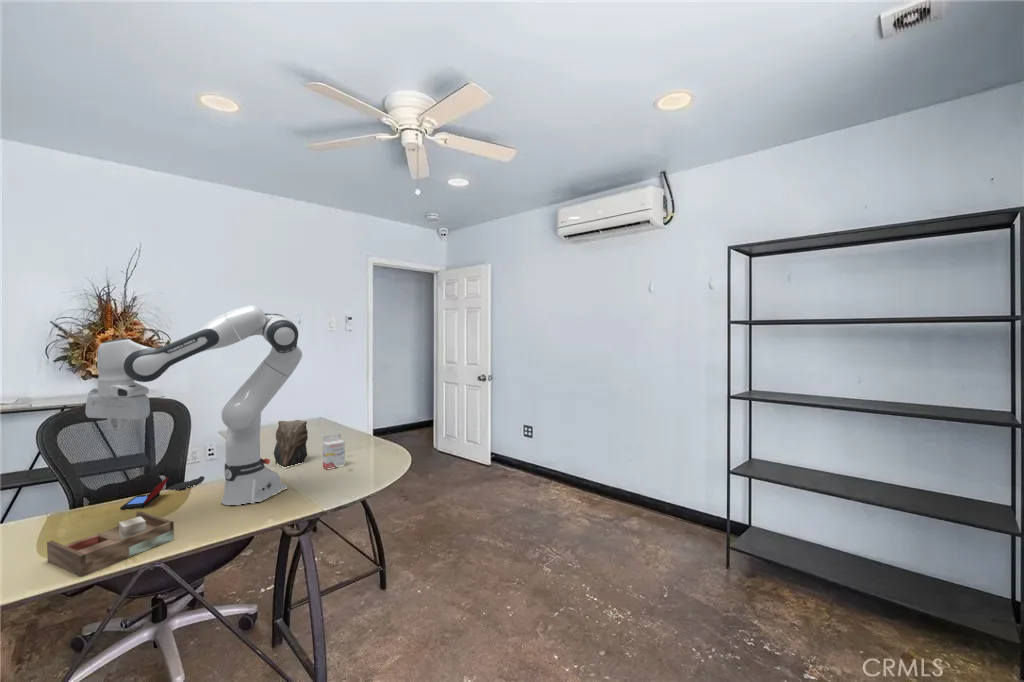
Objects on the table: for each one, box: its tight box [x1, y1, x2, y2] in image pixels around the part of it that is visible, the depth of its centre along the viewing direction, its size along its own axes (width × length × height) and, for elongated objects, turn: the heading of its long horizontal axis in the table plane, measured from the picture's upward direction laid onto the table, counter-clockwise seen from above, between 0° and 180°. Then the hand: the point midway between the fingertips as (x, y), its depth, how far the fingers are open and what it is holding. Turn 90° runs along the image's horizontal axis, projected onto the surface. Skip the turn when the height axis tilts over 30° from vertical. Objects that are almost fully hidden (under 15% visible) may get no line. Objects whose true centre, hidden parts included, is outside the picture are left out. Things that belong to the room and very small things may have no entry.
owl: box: [273, 419, 309, 467], centre depth 210 cm, size 13×13×20 cm
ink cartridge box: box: [322, 433, 346, 470], centre depth 205 cm, size 9×5×15 cm, turn 133°
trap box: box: [46, 511, 175, 578], centre depth 130 cm, size 22×18×6 cm
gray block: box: [118, 516, 146, 540], centre depth 130 cm, size 5×5×5 cm
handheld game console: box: [119, 476, 170, 511], centre depth 164 cm, size 12×11×7 cm
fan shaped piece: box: [167, 475, 205, 491], centre depth 183 cm, size 8×14×2 cm, turn 165°
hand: (117, 432), depth 143 cm, fingers closed
